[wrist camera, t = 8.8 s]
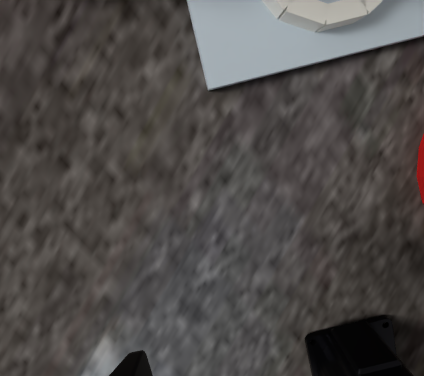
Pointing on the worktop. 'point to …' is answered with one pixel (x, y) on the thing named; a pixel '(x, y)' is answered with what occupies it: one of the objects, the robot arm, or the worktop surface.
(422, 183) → the kitchen timer
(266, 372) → the worktop surface
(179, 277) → the worktop surface
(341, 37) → the base board
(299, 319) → the worktop surface
